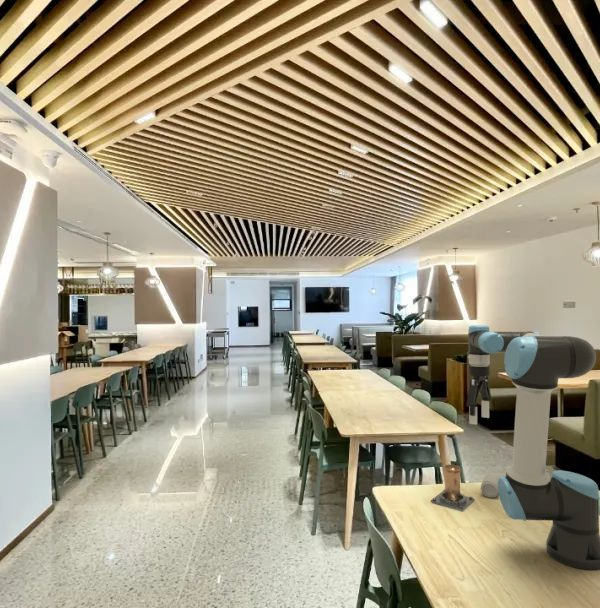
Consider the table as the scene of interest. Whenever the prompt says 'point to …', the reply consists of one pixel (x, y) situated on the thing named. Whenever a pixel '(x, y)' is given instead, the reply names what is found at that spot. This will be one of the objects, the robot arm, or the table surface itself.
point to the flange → (453, 501)
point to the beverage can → (490, 485)
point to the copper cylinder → (452, 482)
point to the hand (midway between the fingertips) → (479, 420)
